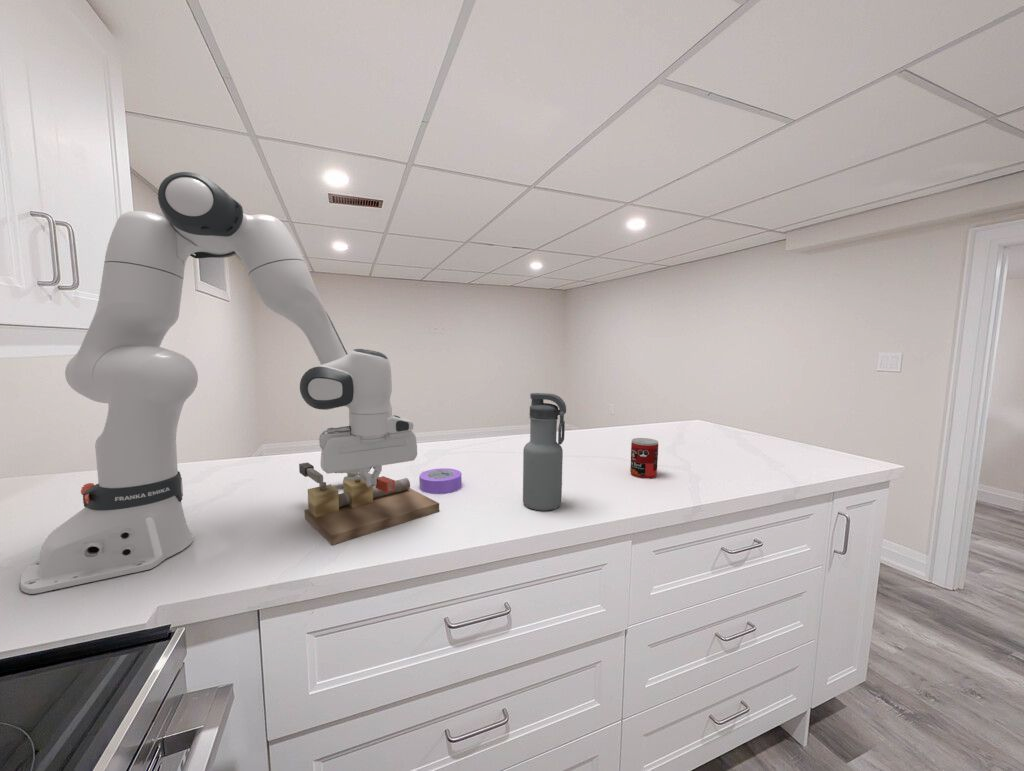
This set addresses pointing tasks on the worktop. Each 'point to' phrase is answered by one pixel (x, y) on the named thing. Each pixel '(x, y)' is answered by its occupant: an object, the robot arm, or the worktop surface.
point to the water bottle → (544, 454)
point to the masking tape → (440, 481)
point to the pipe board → (361, 507)
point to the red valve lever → (379, 482)
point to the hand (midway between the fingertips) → (371, 485)
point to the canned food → (644, 457)
